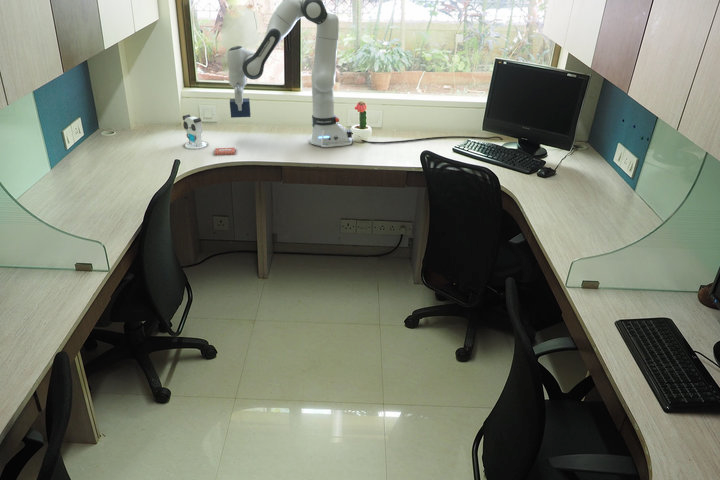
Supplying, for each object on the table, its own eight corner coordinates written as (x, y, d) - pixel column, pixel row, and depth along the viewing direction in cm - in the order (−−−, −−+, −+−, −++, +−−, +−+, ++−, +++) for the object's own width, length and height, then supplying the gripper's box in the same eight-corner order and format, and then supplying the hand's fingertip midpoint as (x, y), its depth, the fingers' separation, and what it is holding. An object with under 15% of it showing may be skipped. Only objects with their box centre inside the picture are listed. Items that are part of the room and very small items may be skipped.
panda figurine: (179, 145, 326) (175, 116, 317) (197, 140, 332) (194, 112, 324) (193, 150, 319) (189, 121, 311) (211, 145, 326) (207, 116, 317)
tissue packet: (235, 149, 320) (234, 147, 319) (234, 154, 314) (234, 151, 313) (215, 150, 319) (215, 147, 318) (215, 155, 313) (214, 152, 312)
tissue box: (250, 113, 324) (249, 97, 319) (250, 117, 319) (249, 100, 314) (231, 114, 323) (229, 97, 318) (231, 117, 318) (229, 100, 313)
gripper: (244, 85, 303) (246, 113, 311) (244, 75, 320) (246, 102, 328) (231, 86, 302) (233, 114, 310) (232, 76, 319) (234, 103, 327)
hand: (240, 108), depth 319 cm, fingers closed on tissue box, 6 cm apart
